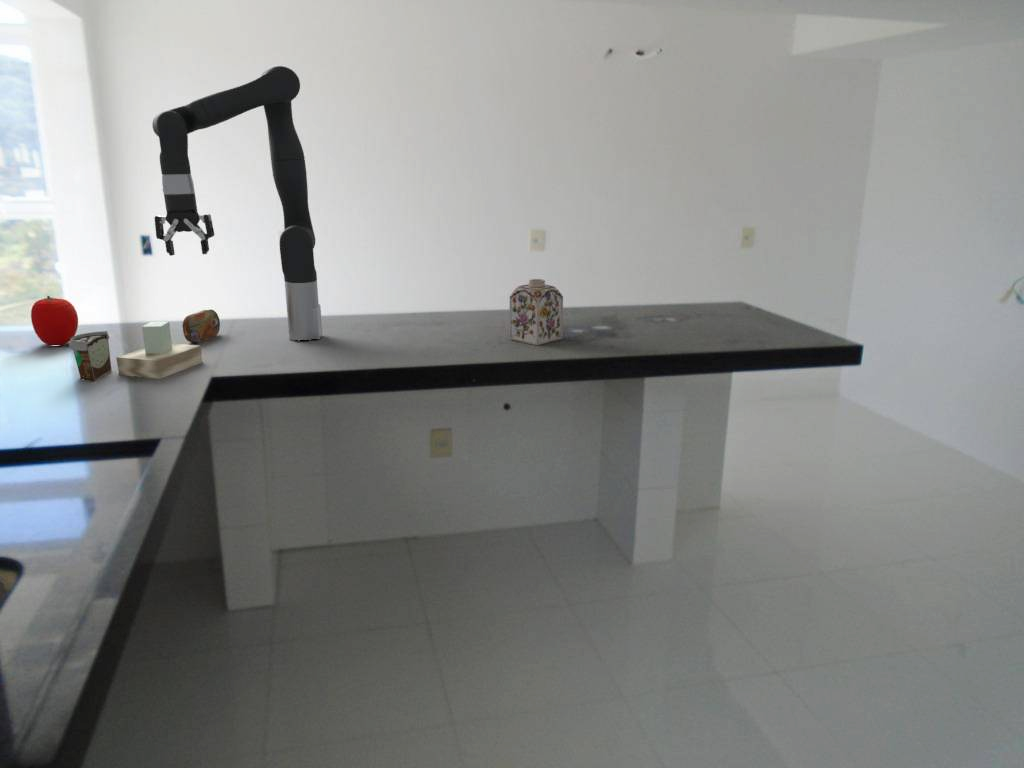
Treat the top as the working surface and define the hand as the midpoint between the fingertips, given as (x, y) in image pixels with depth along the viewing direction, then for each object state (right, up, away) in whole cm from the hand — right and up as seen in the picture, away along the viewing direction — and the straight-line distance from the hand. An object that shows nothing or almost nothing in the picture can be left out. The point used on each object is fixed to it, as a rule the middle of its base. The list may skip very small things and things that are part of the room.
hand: (188, 254), depth 198 cm
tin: (-5, -22, +22) cm, 31 cm away
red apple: (-44, -24, +15) cm, 52 cm away
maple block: (-3, -31, -9) cm, 33 cm away
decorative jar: (+94, -22, +23) cm, 99 cm away
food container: (-17, -33, -16) cm, 40 cm away
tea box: (-3, -26, -10) cm, 28 cm away
